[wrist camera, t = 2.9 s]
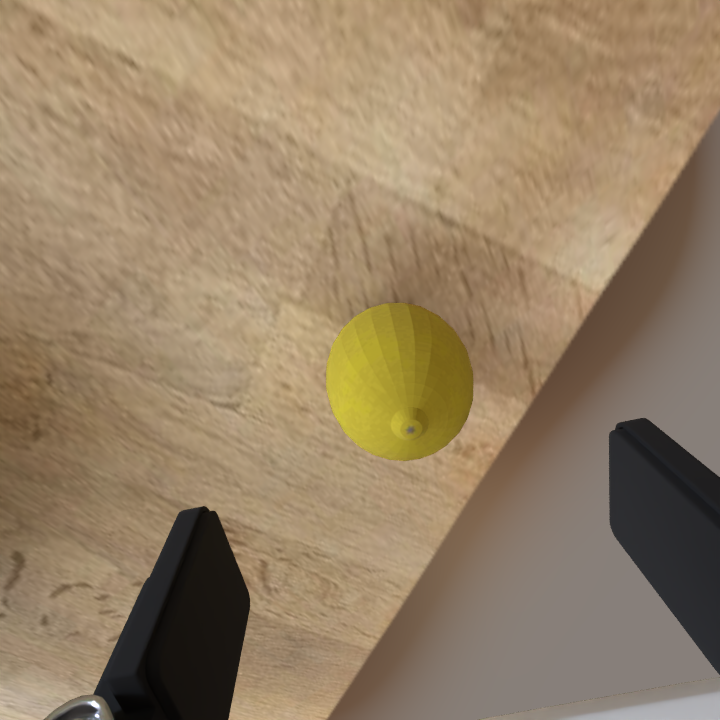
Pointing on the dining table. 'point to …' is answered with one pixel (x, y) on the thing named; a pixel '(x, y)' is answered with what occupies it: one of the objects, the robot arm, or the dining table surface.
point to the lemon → (399, 381)
